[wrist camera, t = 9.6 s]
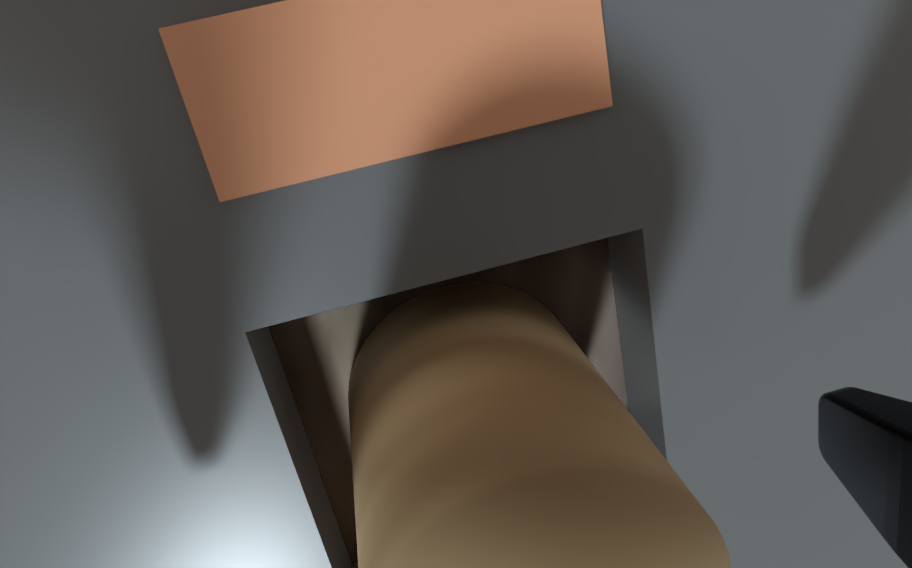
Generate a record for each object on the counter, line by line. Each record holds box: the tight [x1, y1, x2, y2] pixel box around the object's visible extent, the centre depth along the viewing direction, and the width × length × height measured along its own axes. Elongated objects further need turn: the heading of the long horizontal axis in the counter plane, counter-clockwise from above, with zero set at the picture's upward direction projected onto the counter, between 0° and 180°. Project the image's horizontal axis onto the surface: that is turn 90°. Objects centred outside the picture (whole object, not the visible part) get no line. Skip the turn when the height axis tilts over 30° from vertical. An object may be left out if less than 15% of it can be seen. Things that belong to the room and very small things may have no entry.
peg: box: [348, 282, 731, 568], centre depth 10 cm, size 4×4×5 cm
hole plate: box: [0, 0, 912, 568], centre depth 11 cm, size 16×16×2 cm
